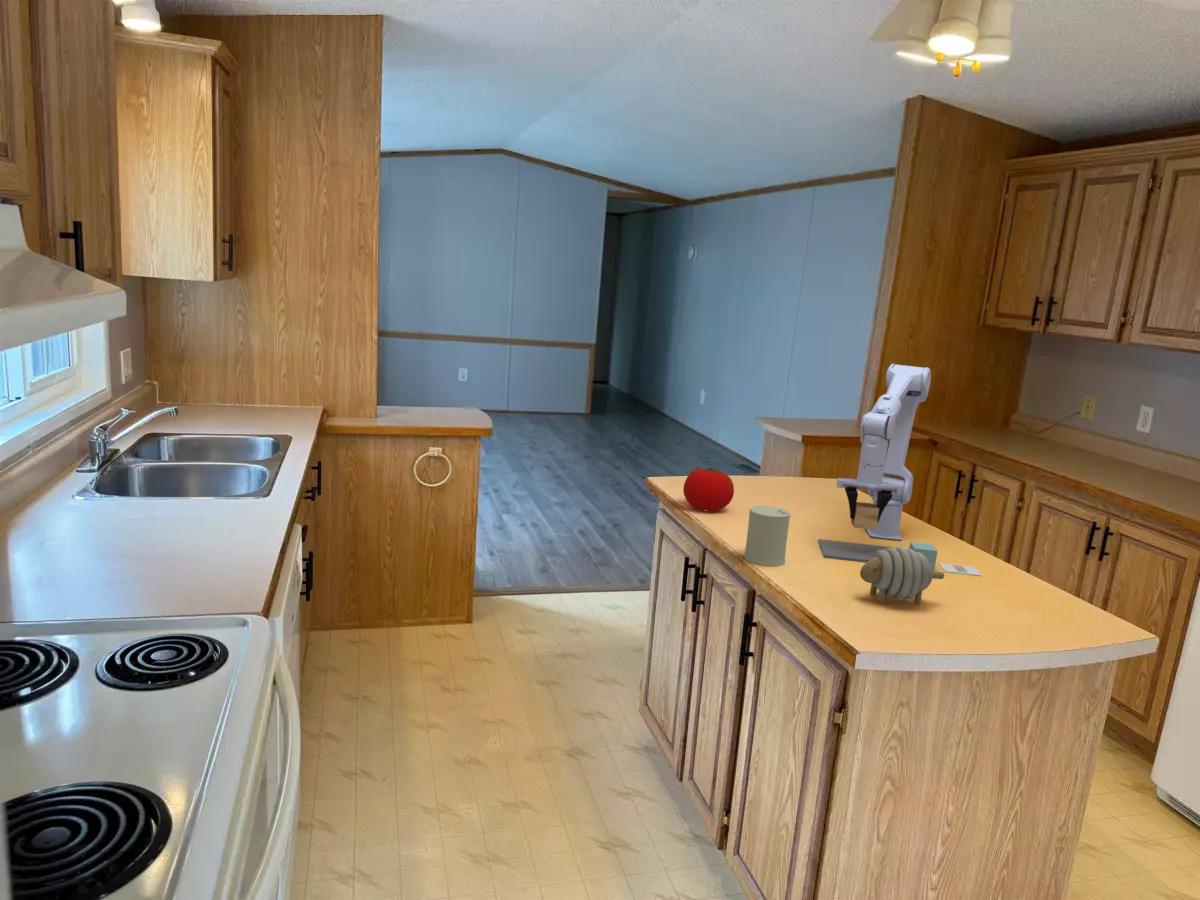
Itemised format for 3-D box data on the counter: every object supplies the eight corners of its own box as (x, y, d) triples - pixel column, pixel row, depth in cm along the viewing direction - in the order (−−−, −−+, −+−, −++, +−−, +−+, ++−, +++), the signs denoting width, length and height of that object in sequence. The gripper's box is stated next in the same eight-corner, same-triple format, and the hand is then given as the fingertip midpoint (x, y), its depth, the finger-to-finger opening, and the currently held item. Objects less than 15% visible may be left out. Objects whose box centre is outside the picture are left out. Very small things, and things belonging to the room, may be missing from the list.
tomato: (673, 504, 232) (677, 463, 229) (714, 501, 238) (719, 462, 235) (697, 517, 220) (701, 474, 218) (740, 514, 226) (745, 472, 224)
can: (785, 568, 184) (791, 516, 182) (743, 563, 186) (749, 511, 183) (784, 556, 193) (790, 506, 191) (744, 550, 195) (750, 501, 192)
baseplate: (817, 541, 206) (818, 538, 206) (892, 549, 204) (893, 547, 204) (823, 557, 194) (824, 555, 194) (903, 566, 191) (904, 564, 191)
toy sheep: (847, 589, 174) (854, 538, 172) (924, 591, 176) (932, 541, 174) (868, 608, 164) (876, 555, 161) (949, 611, 165) (958, 558, 163)
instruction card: (938, 563, 196) (938, 562, 196) (974, 567, 195) (974, 566, 195) (945, 571, 190) (945, 570, 190) (981, 576, 189) (981, 575, 189)
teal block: (906, 562, 195) (910, 542, 194) (929, 564, 194) (932, 544, 194) (911, 569, 190) (914, 548, 189) (934, 571, 190) (937, 551, 189)
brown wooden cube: (851, 521, 200) (853, 501, 199) (872, 523, 200) (875, 503, 199) (854, 527, 195) (857, 506, 194) (876, 529, 195) (879, 509, 194)
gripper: (842, 464, 192) (835, 520, 194) (907, 470, 190) (899, 527, 192) (838, 458, 198) (831, 512, 201) (901, 464, 197) (893, 519, 199)
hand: (864, 519), depth 197 cm, fingers closed on brown wooden cube, 5 cm apart
